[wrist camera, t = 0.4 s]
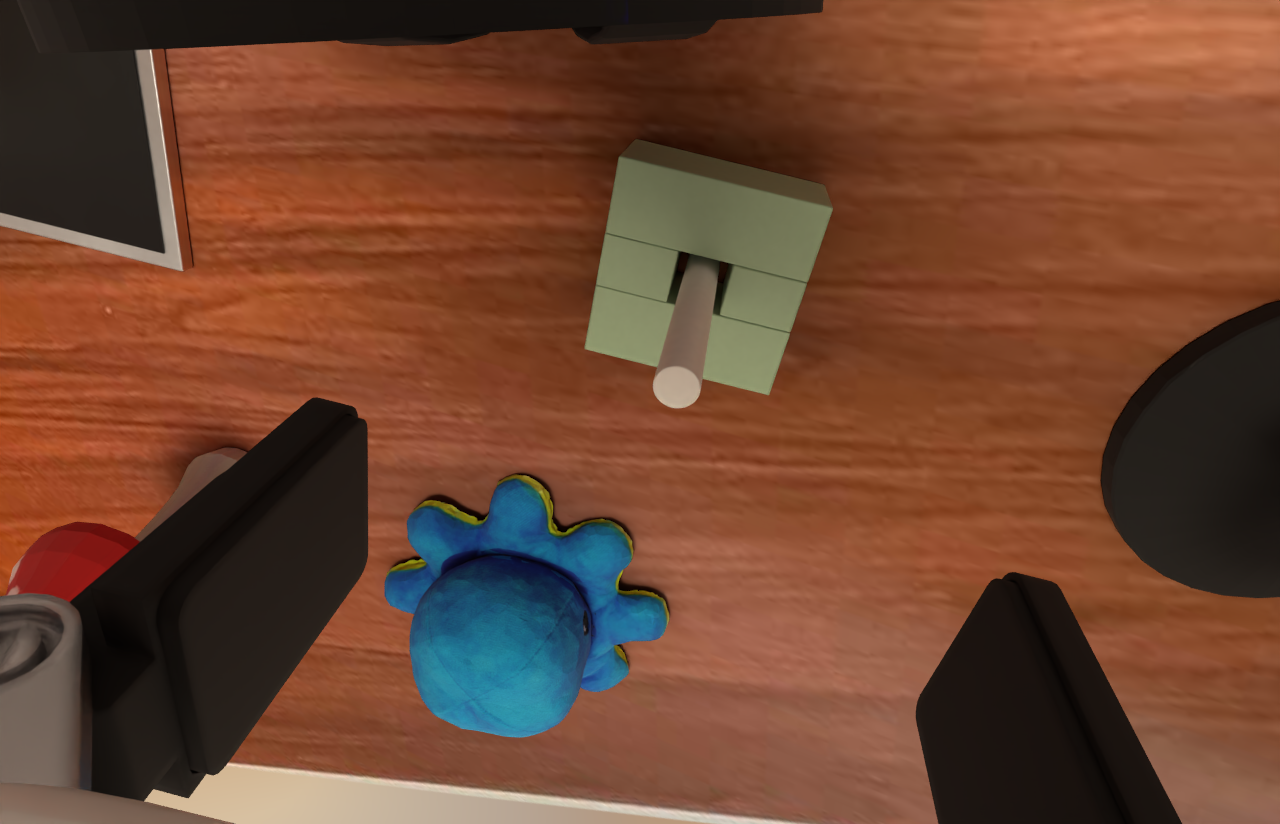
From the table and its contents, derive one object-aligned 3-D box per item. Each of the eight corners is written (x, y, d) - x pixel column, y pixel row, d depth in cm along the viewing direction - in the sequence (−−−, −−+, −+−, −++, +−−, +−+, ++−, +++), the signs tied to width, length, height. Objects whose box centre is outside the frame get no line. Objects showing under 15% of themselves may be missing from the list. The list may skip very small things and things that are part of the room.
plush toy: (342, 520, 43) (258, 623, 36) (588, 447, 38) (547, 550, 31) (475, 701, 50) (427, 817, 43) (699, 661, 45) (688, 786, 37)
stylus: (694, 235, 31) (658, 360, 20) (724, 242, 31) (705, 373, 20) (686, 265, 32) (648, 402, 21) (716, 272, 32) (694, 413, 21)
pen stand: (635, 138, 30) (618, 155, 26) (825, 184, 30) (833, 207, 26) (601, 315, 34) (584, 349, 30) (768, 356, 34) (769, 395, 30)
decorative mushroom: (315, 564, 45) (140, 785, 33) (188, 534, 46) (-36, 740, 33) (304, 436, 40) (90, 638, 27) (161, 403, 41) (-117, 587, 28)
